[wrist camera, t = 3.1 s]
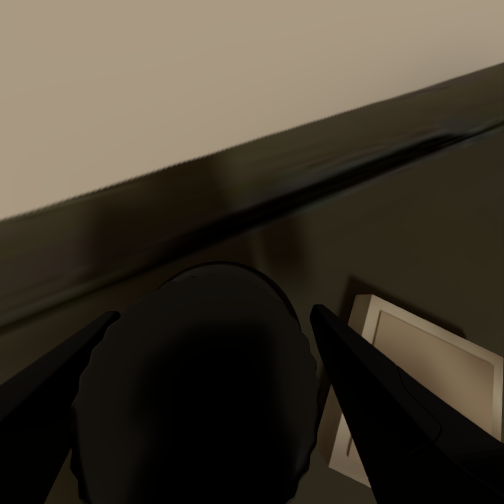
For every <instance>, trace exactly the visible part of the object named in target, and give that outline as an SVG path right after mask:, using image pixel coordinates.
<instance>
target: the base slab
mask: <svg viewBox="0 0 504 504" xmlns="http://www.w3.org/2000/svg"><path fill="white" fill-rule="evenodd" d="M348 326H350V327H351V328H352V329H353V330H355V331H356V332H357V333H358V334H360V335H361V336H362V337H363V338H365V339H366V340H367V341H368V342H369V343H371V344H372V345H373V346H374V347H376V348H377V349H378V350H379V351H381V352H382V353H383V354H384V355H386V356H387V357H388V358H389V359H390V360H392V361H393V362H394V363H395V364H396V365H398V366H399V367H400V368H402V369H403V370H404V371H405V372H407V373H408V374H409V375H410V376H412V377H413V378H414V379H416V380H417V381H418V382H419V383H421V384H422V385H423V386H424V387H426V388H427V389H428V390H430V391H431V392H433V393H434V394H435V395H437V396H438V397H439V398H441V399H442V400H443V401H445V402H446V403H447V404H449V405H450V406H452V407H453V408H454V409H456V410H457V411H458V412H460V413H461V414H463V415H464V416H465V417H467V418H468V419H469V420H471V421H472V422H474V423H475V424H476V425H478V426H479V427H480V428H482V429H483V430H485V431H486V432H487V433H489V434H490V435H492V436H493V437H494V438H496V439H497V440H499V441H500V442H501V417H502V384H503V357H501V356H498V355H496V354H494V353H492V352H490V351H488V350H486V349H484V348H482V347H480V346H478V345H476V344H474V343H472V342H470V341H467V340H465V339H463V338H461V337H459V336H457V335H455V334H453V333H451V332H449V331H447V330H445V329H443V328H441V327H439V326H437V325H434V324H432V323H430V322H428V321H426V320H424V319H422V318H420V317H418V316H416V315H414V314H412V313H410V312H408V311H406V310H403V309H401V308H399V307H397V306H395V305H393V304H391V303H389V302H387V301H385V300H383V299H381V298H379V297H377V296H375V295H373V294H367V295H356V297H355V300H354V304H353V307H352V311H351V315H350V318H349V322H348ZM316 446H317V448H318V449H319V451H320V453H321V454H322V456H323V458H324V460H325V461H326V463H327V465H328V466H329V467H330V468H332V469H334V470H336V471H338V472H340V473H342V474H344V475H346V476H348V477H350V478H352V479H354V480H356V481H359V482H361V483H363V484H365V485H367V486H369V487H371V486H370V483H369V481H368V477H367V475H366V473H365V470H364V467H363V465H362V462H361V460H360V457H359V454H358V452H357V449H356V447H355V444H354V441H353V439H352V436H351V434H350V431H349V428H348V426H347V423H346V421H345V418H344V416H343V413H342V410H341V408H340V405H339V403H338V400H337V397H336V395H335V392H334V390H333V387H332V384H331V386H330V390H329V393H328V397H327V400H326V404H325V408H324V411H323V415H322V418H321V422H320V425H319V429H318V433H317V444H316Z"/></svg>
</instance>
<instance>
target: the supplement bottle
mask: <svg viewBox="0 0 504 504" xmlns="http://www.w3.org/2000/svg"><path fill="white" fill-rule="evenodd" d="M316 370H317V362H316V360H315V359H314V357H313V356H312V354H311V353H310V345H309V340H308V338H307V337H306V336H305V335H304V334H303V333H302V332H301V327H300V323H299V320H298V317H297V315H296V312H295V310H294V308H293V306H292V304H291V302H290V300H289V299H288V297H287V296H286V294H285V293H284V292H283V291H282V289H281V288H280V287H279V286H278V285H277V284H276V283H275V282H274V281H273V280H272V279H270V278H269V277H268V276H266V275H265V274H263V273H262V272H260V271H258V270H256V269H254V268H252V267H249V266H247V265H244V264H240V263H235V262H227V261H216V262H207V263H203V264H198V265H195V266H193V267H190V268H188V269H185V270H183V271H181V272H179V273H178V274H176V275H174V276H173V277H171V278H170V279H168V280H167V281H166V282H165V283H163V284H162V285H161V286H160V287H159V288H158V289H157V290H154V291H150V292H147V293H145V294H144V295H143V296H142V297H141V299H140V300H139V301H138V303H135V304H132V305H130V306H128V307H126V308H125V310H124V311H123V313H122V315H121V317H120V318H119V320H117V321H115V322H114V323H112V324H111V325H110V326H108V327H107V330H106V332H105V335H104V338H103V340H102V341H101V342H100V343H99V344H97V345H96V346H95V347H94V348H93V349H92V352H91V355H90V361H89V364H88V366H87V367H86V368H85V369H84V371H83V372H82V373H81V375H80V376H79V388H78V393H77V395H76V397H75V398H74V400H73V402H72V405H71V413H72V418H73V422H72V424H71V427H70V430H69V434H68V440H69V443H70V446H71V448H72V457H71V465H70V469H71V471H72V472H73V474H74V475H75V476H76V478H77V480H78V492H79V499H80V500H81V501H82V502H83V503H85V504H288V503H290V502H291V501H292V500H293V499H294V498H295V497H296V493H297V490H298V486H299V481H300V480H301V479H302V477H304V476H305V474H306V473H307V472H308V470H309V465H310V454H311V453H312V451H313V449H314V448H315V446H316V444H317V425H318V422H319V420H320V417H321V409H320V404H319V401H318V400H319V395H320V391H321V386H320V383H319V380H318V378H317V376H316Z"/></svg>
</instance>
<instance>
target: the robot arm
mask: <svg viewBox="0 0 504 504" xmlns="http://www.w3.org/2000/svg"><path fill="white" fill-rule="evenodd" d="M120 317H121V315H120V313H119V312H118V311H109V312H106V313H104V314H103V315H101V316H100V317H99V318H97V319H96V320H94V321H93V322H91V323H90V324H88V325H87V326H86V327H84V328H83V329H81V330H80V331H78V332H77V333H75V334H74V335H72V336H71V337H70V338H68V339H67V340H65V341H64V342H62V343H61V344H59V345H58V346H57V347H55V348H54V349H52V350H51V351H49V352H48V353H46V354H45V355H44V356H42V357H41V358H39V359H38V360H36V361H35V362H33V363H32V364H31V365H29V366H28V367H26V368H25V369H23V370H22V371H20V372H19V373H17V374H16V375H15V376H13V377H12V378H10V379H9V380H7V381H6V382H4V383H3V384H2V385H0V504H44V502H45V500H46V498H47V496H48V494H49V492H50V490H51V488H52V486H53V484H54V482H55V480H56V477H57V475H58V473H59V471H60V469H61V467H62V465H63V463H64V461H65V459H66V457H67V455H68V453H69V450H70V448H71V446H70V443H69V440H68V434H69V430H70V427H71V424H72V422H73V418H72V413H71V405H72V402H73V400H74V398H75V397H76V395H77V393H78V388H79V376H80V375H81V373H82V372H83V371H84V369H85V368H86V367H87V366H88V364H89V361H90V355H91V352H92V349H93V348H94V347H95V346H96V345H97V344H99V343H100V342H101V341H102V340H103V338H104V335H105V332H106V330H107V327H108V326H110V325H111V324H112V323H114V322H115V321H117V320H119V318H120ZM310 322H311V325H312V329H313V332H314V336H315V340H316V343H317V347H318V350H319V353H320V356H321V359H322V361H323V364H324V366H325V369H326V371H327V374H328V377H329V379H330V382H331V384H332V387H333V390H334V392H335V395H336V397H337V400H338V403H339V405H340V408H341V410H342V413H343V416H344V418H345V421H346V423H347V426H348V428H349V431H350V434H351V436H352V439H353V441H354V444H355V447H356V449H357V452H358V454H359V457H360V460H361V462H362V465H363V467H364V470H365V473H366V475H367V477H368V481H369V483H370V486H371V488H372V491H373V494H374V496H375V499H376V501H377V504H504V443H502V442H500V441H499V440H497V439H496V438H494V437H493V436H492V435H490V434H489V433H487V432H486V431H485V430H483V429H482V428H480V427H479V426H478V425H476V424H475V423H474V422H472V421H471V420H469V419H468V418H467V417H465V416H464V415H463V414H461V413H460V412H458V411H457V410H456V409H454V408H453V407H452V406H450V405H449V404H447V403H446V402H445V401H443V400H442V399H441V398H439V397H438V396H437V395H435V394H434V393H433V392H431V391H430V390H428V389H427V388H426V387H424V386H423V385H422V384H421V383H419V382H418V381H417V380H416V379H414V378H413V377H412V376H410V375H409V374H408V373H407V372H405V371H404V370H403V369H402V368H400V367H399V366H398V365H396V364H395V363H394V362H393V361H392V360H390V359H389V358H388V357H387V356H386V355H384V354H383V353H382V352H381V351H379V350H378V349H377V348H376V347H374V346H373V345H372V344H371V343H369V342H368V341H367V340H366V339H365V338H363V337H362V336H361V335H360V334H358V333H357V332H356V331H355V330H353V329H352V328H351V327H350V326H348V325H347V324H346V323H345V322H344V321H342V320H341V319H340V318H339V317H337V316H336V315H335V314H334V313H332V312H331V311H330V310H329V309H327V308H326V307H325V306H324V305H322V304H316V305H314V306H313V308H312V311H311V314H310Z"/></svg>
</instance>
